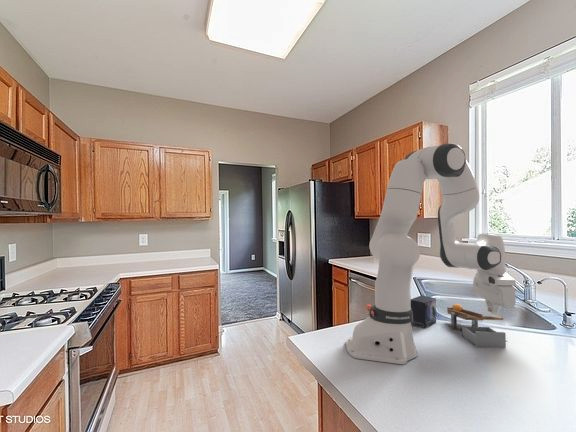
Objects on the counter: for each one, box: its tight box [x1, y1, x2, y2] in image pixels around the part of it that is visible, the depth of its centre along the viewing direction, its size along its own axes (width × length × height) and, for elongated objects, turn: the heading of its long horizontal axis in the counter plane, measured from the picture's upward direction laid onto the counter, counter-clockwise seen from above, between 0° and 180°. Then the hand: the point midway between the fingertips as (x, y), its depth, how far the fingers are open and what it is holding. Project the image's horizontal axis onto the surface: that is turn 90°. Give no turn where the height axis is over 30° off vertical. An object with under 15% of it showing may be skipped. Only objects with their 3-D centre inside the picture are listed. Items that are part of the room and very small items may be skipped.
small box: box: [411, 294, 437, 329], centre depth 116 cm, size 11×6×10 cm, turn 130°
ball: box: [451, 303, 463, 312], centre depth 116 cm, size 4×4×4 cm
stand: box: [448, 312, 479, 331], centre depth 110 cm, size 10×4×6 cm, turn 84°
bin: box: [461, 326, 507, 349], centre depth 98 cm, size 9×9×5 cm
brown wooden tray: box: [446, 307, 504, 321], centre depth 110 cm, size 14×15×2 cm
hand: (492, 312), depth 106 cm, fingers closed
